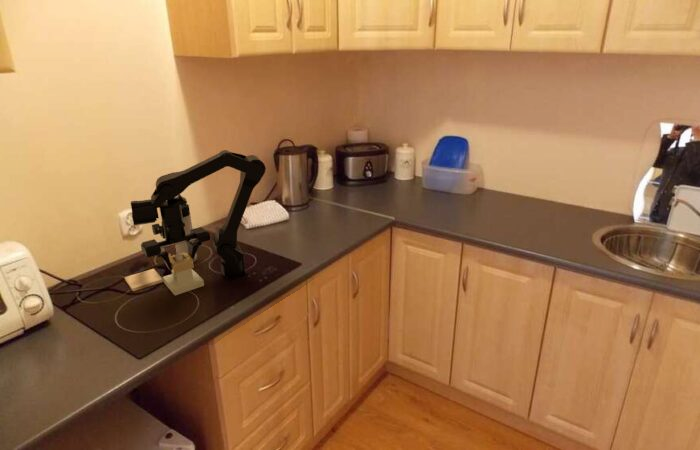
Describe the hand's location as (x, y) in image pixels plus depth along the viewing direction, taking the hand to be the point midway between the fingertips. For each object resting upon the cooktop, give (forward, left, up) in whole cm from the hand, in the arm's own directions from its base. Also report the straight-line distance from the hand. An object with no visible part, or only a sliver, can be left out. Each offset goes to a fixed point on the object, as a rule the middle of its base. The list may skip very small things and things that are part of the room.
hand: (180, 266), depth 141 cm
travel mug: (-7, -15, -6) cm, 18 cm away
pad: (+9, -10, -6) cm, 15 cm away
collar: (0, 0, 0) cm, 0 cm away
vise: (0, 0, -6) cm, 6 cm away
